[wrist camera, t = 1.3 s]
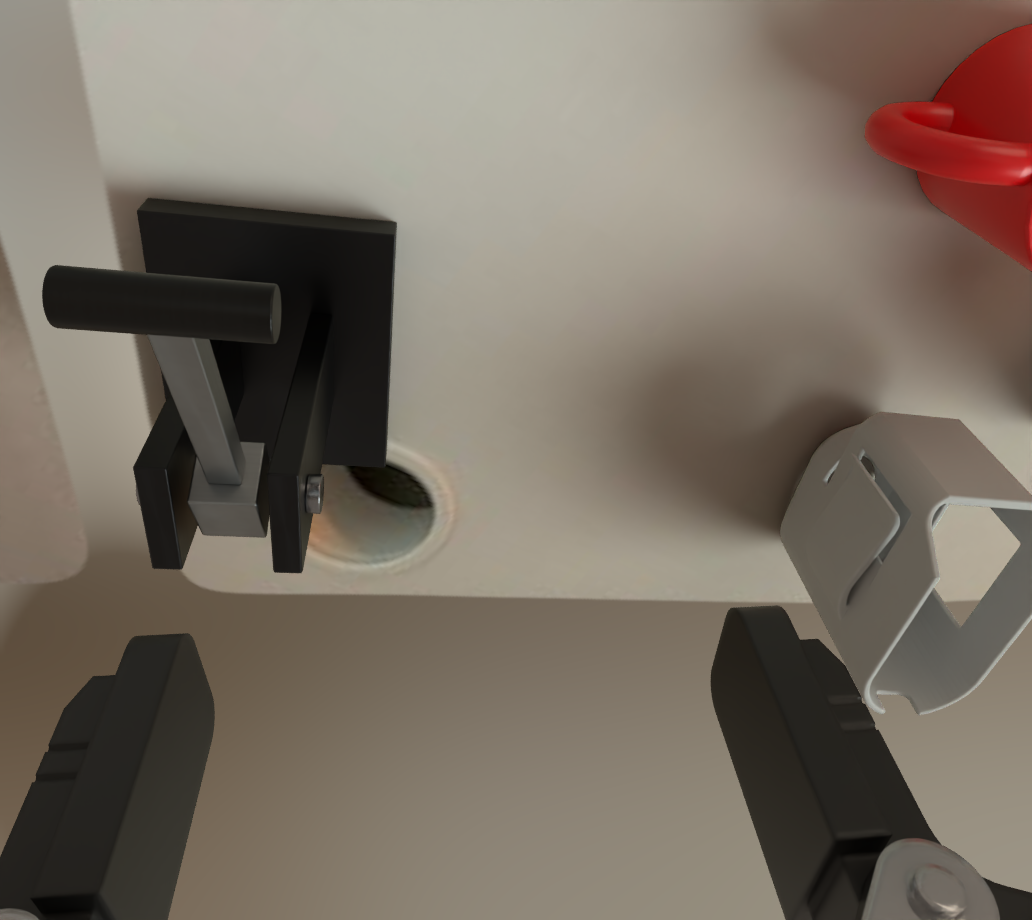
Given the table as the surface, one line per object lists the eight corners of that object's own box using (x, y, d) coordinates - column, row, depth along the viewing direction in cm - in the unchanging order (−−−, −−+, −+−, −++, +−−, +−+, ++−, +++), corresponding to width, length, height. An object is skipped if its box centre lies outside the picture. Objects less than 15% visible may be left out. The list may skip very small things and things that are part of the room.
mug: (859, 7, 30) (972, 44, 24) (1145, 28, 31) (1324, 68, 25) (800, 212, 35) (882, 288, 28) (1051, 223, 36) (1182, 297, 30)
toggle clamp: (147, 197, 32) (14, 353, 22) (396, 221, 33) (382, 378, 23) (181, 438, 39) (93, 642, 29) (386, 450, 40) (372, 646, 30)
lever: (57, 236, 18) (29, 318, 17) (279, 256, 19) (267, 336, 18) (173, 473, 29) (160, 534, 28) (313, 480, 30) (306, 540, 28)
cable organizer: (940, 385, 41) (1095, 543, 31) (844, 558, 48) (946, 729, 39) (822, 373, 40) (945, 532, 30) (742, 551, 47) (821, 726, 38)
